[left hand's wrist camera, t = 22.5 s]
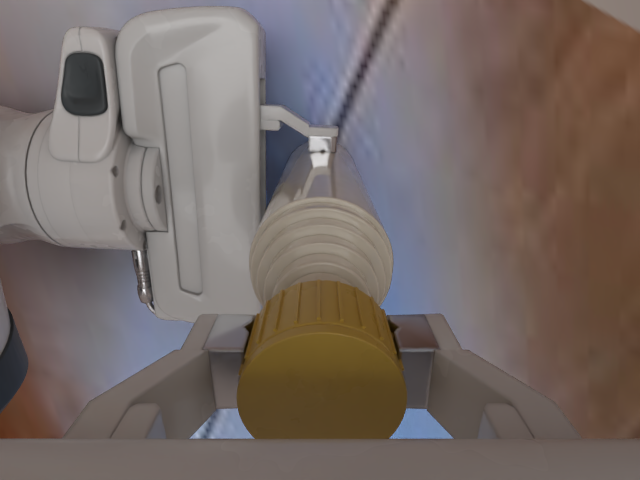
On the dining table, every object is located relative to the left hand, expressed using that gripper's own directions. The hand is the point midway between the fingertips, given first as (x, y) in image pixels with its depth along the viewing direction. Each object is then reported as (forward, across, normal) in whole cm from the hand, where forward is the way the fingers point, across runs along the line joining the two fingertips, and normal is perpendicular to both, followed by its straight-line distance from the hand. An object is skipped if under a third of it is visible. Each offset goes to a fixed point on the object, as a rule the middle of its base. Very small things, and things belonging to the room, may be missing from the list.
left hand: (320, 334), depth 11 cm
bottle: (+21, 0, 0) cm, 21 cm away
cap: (-2, 0, 0) cm, 2 cm away
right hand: (+15, -1, 0) cm, 15 cm away
